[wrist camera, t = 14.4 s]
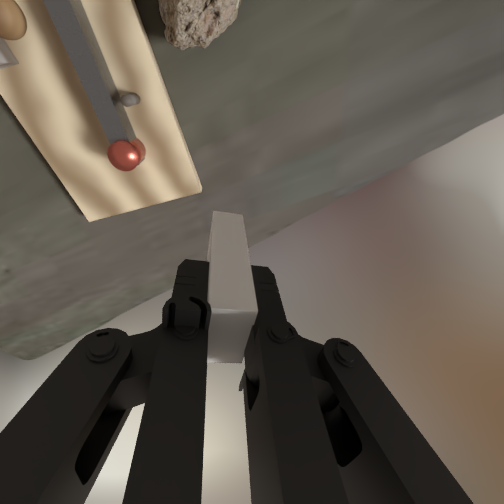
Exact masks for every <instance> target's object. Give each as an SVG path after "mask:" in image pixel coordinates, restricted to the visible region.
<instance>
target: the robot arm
mask: <svg viewBox="0 0 504 504" xmlns="http://www.w3.org/2000/svg"><path fill="white" fill-rule="evenodd" d="M162 313H163V314H162V324H160V325H159V326H158V327H157V328H155V329H153V330H151V331H148V332H145V333H141V334H136V335H132V336H128V335H127V333H126V332H124V331H122V330H119V329H114V328H113V329H112V328H106V329H101V330H96V331H95V332H92V333H90V334H88V335H86V336H85V337H84V338H83V339H82V340H80V341H79V342H78V343H77V344H76V346H75V347H74V348H73V349H72V350H71V351H70V352H69V354H68V355H67V356H66V357H65V358H64V360H63V361H62V362H61V363H60V364H59V365H58V367H57V368H56V369H55V370H54V371H53V372H52V373H51V375H50V376H49V377H48V378H47V379H46V380H45V382H44V383H43V384H42V385H41V386H40V387H39V389H38V390H37V391H36V392H35V393H34V394H33V396H32V397H31V398H30V399H29V400H28V401H27V403H26V404H25V405H24V406H23V407H22V408H21V410H20V411H19V412H18V413H17V414H16V415H15V417H14V418H13V419H12V420H11V421H10V422H9V424H8V425H7V426H6V427H5V429H4V430H3V431H2V432H1V433H0V504H84V503H85V500H86V498H87V497H88V495H89V493H90V491H91V489H92V487H93V485H94V483H95V481H96V479H97V477H98V475H99V473H100V471H101V469H102V467H103V465H104V463H105V461H106V459H107V457H108V455H109V453H110V451H111V449H112V447H113V445H114V443H115V441H116V439H117V437H118V435H119V433H120V431H121V429H122V427H123V425H124V423H125V421H126V419H127V417H128V416H129V413H130V411H131V410H132V408H133V407H135V406H137V405H140V404H143V403H145V406H144V411H143V415H142V419H141V424H140V428H139V433H138V437H137V441H136V446H135V451H134V455H133V459H132V463H131V468H130V473H129V477H128V481H127V485H126V490H125V494H124V499H123V503H122V504H201V494H202V470H203V447H204V423H205V400H206V377H207V362H214V363H242V360H243V357H245V370H244V373H243V376H242V379H241V382H240V385H239V391H242V389H244V404H245V418H246V430H247V431H246V432H247V445H248V460H249V474H250V486H251V487H250V488H251V502H252V504H473V502H472V501H471V500H470V498H469V497H468V496H467V494H466V493H465V492H464V490H463V489H462V488H461V486H460V485H459V484H458V482H457V481H456V480H455V478H454V477H453V476H452V474H451V473H450V471H449V470H448V469H447V467H446V466H445V465H444V463H443V462H442V461H441V459H440V458H439V457H438V455H437V454H436V453H435V451H434V450H433V449H432V447H431V446H430V445H429V443H428V442H427V441H426V439H425V438H424V437H423V435H422V434H421V433H420V431H419V430H418V428H417V427H416V426H415V424H414V423H413V422H412V420H411V419H410V418H409V416H407V414H406V412H405V411H404V410H403V408H402V407H401V406H400V404H399V403H398V402H397V400H396V399H395V398H394V396H393V395H392V394H391V392H390V391H389V390H388V388H387V387H386V386H385V384H384V383H383V382H382V380H381V379H380V377H379V376H378V375H377V374H376V372H375V371H374V370H373V368H372V367H371V365H370V364H369V363H368V361H367V360H366V359H365V358H364V356H363V355H362V353H361V352H360V351H359V350H358V349H357V348H356V347H355V346H354V345H353V344H351V343H350V342H348V341H346V340H343V339H340V338H332V339H329V340H327V341H326V343H325V344H324V345H322V344H319V343H316V342H314V341H311V340H308V339H305V338H303V337H301V336H300V335H298V333H297V331H296V329H295V328H294V327H293V326H292V325H291V324H290V323H289V322H287V320H286V316H285V312H284V309H283V305H282V301H281V298H280V294H279V290H278V287H277V285H276V279H275V276H274V274H273V273H272V272H271V270H270V269H269V268H268V267H262V266H253V265H250V258H249V252H248V246H247V240H246V233H245V227H244V221H243V215H240V214H233V213H226V212H219V211H213V217H212V225H211V232H210V239H209V247H208V254H207V261H198V260H188V259H185V260H184V261H183V262H182V263H181V264H180V265H179V266H178V270H177V275H176V279H175V285H174V288H173V293H172V297H171V298H170V299H169V300H168V301H166V303H165V305H164V307H163V312H162Z"/></svg>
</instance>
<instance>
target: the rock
mask: <svg viewBox="0 0 504 504" xmlns="http://www.w3.org/2000/svg"><path fill="white" fill-rule="evenodd" d="M158 2H159V11H160V14H161V18H162V20H163V22H164V23H165V25H166V29H165V31H164V33H165V38H166V40H167V41H168V42H169V43H170V44H172V45H173V46H174V47H178V48H179V49H180V50H184V49H186V48H188V47H190V48H193V47H195V46H197V47H202V48H206V47H208V46H209V44H210V43H211V41H212V40H214V39H215V38H217V37H219V34H221V33H223V32H224V31H225V30H226V28H227V27H228V26H229V25H231V24H232V23H233V22H234V21H235V19H236V18H237V15H238V8H239V6H240V3H241V0H158Z"/></svg>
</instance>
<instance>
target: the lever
mask: <svg viewBox="0 0 504 504" xmlns="http://www.w3.org/2000/svg"><path fill="white" fill-rule="evenodd" d="M43 2H44V4H45V6H46V8H47V11H48V13H49V15H50V17H51V19H52V21H53V23H54V26H55V28H56V30H57V32H58V34H59V36H60V38H61V40H62V43H63V45H64V47H65V49H66V51H67V53H68V55H69V58H70V60H71V62H72V64H73V66H74V68H75V70H76V72H77V75H78V77H79V79H80V81H81V83H82V85H83V87H84V89H85V92H86V94H87V96H88V98H89V100H90V102H91V104H92V107H93V109H94V111H95V113H96V115H97V117H98V119H99V121H100V124H101V126H102V128H103V130H104V132H105V134H106V136H107V139H108V141H109V143H110V146H109V148H108V150H107V156H108V159H109V161H110V163H111V164H112V165H113V166H114V167H115V168H117V169H118V170H121V171H131V170H133V169H134V168H136V166H137V165H140V163H141V162H142V161H143V160H144V159H145V155H146V149H145V146H144V144H143V143H142V142H141V141H140V140H139V139H138V138H136V135H135V133H134V130H133V128H132V125H131V123H130V120H129V118H128V115H127V113H126V111H125V108H124V106H123V105H122V103H121V100H120V96H119V93H118V91H117V88H116V86H115V83H114V81H113V78H112V76H111V74H110V71H109V69H108V66H107V64H106V61H105V59H104V56H103V54H102V51H101V49H100V46H99V44H98V42H97V39H96V37H95V34H94V32H93V29H92V27H91V24H90V22H89V19H88V17H87V14H86V12H85V9H84V7H83V5H82V2H81V0H43Z"/></svg>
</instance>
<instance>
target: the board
mask: <svg viewBox="0 0 504 504" xmlns="http://www.w3.org/2000/svg"><path fill="white" fill-rule="evenodd" d="M81 2H82V5H83V7H84V9H85V12H86V14H87V17H88V19H89V22H90V24H91V27H92V29H93V32H94V34H95V37H96V39H97V42H98V44H99V46H100V49H101V51H102V54H103V56H104V59H105V61H106V64H107V66H108V69H109V71H110V74H111V76H112V78H113V81H114V83H115V86H116V88H117V91H118V93H119V96H120V100H121V103H122V105H123V106H124V108H125V111H126V113H127V115H128V118H129V120H130V123H131V125H132V128H133V130H134V133H135V135H136V138H138V139H139V140H140V141H141V142H142V143H143V144H144V146H145V149H146V155H145V159H144V160H143V161H142V162H141V163H140V165H137V166H136V168H134V169H133V170H131V171H121V170H118V169H117V168H115V167H114V166H113V165H112V164H111V163H110V161H109V159H108V156H107V150H108V148H109V146H110V143H109V141H108V139H107V136H106V134H105V132H104V130H103V128H102V126H101V124H100V121H99V119H98V117H97V115H96V113H95V111H94V109H93V107H92V104H91V102H90V100H89V98H88V96H87V94H86V92H85V89H84V87H83V85H82V83H81V81H80V79H79V77H78V75H77V72H76V70H75V68H74V66H73V64H72V62H71V60H70V58H69V55H68V53H67V51H66V49H65V47H64V45H63V43H62V40H61V38H60V36H59V34H58V32H57V30H56V28H55V26H54V23H53V21H52V19H51V17H50V15H49V13H48V11H47V8H46V6H45V4H44V2H43V0H0V94H1V96H2V97H3V99H4V100H5V101H6V103H7V104H8V106H9V107H10V109H11V110H12V112H13V113H14V114H15V116H16V117H17V119H18V120H19V122H20V123H21V124H22V126H23V127H24V129H25V130H26V132H27V133H28V135H29V136H30V137H31V139H32V140H33V142H34V143H35V145H36V146H37V147H38V149H39V150H40V152H41V153H42V155H43V156H44V158H45V159H46V160H47V162H48V163H49V165H50V166H51V168H52V169H53V170H54V172H55V173H56V175H57V176H58V178H59V179H60V181H61V182H62V183H63V185H64V186H65V188H66V189H67V191H68V192H69V194H70V195H71V196H72V198H73V199H74V201H75V202H76V204H77V205H78V206H79V208H80V209H81V211H82V212H83V214H84V215H85V217H86V218H87V219H88V221H89V222H90V221H94V220H98V219H102V218H106V217H109V216H113V215H117V214H121V213H124V212H128V211H132V210H136V209H139V208H143V207H147V206H151V205H155V204H158V203H162V202H166V201H170V200H173V199H177V198H181V197H185V196H189V195H192V194H196V193H200V192H201V191H202V186H201V183H200V181H199V178H198V175H197V172H196V170H195V167H194V164H193V161H192V158H191V156H190V153H189V150H188V147H187V145H186V142H185V139H184V136H183V134H182V131H181V128H180V125H179V123H178V120H177V117H176V114H175V112H174V109H173V106H172V103H171V101H170V98H169V95H168V92H167V90H166V87H165V84H164V81H163V79H162V76H161V73H160V70H159V68H158V65H157V62H156V59H155V56H154V54H153V51H152V48H151V45H150V43H149V40H148V37H147V34H146V32H145V29H144V26H143V23H142V21H141V18H140V15H139V12H138V10H137V7H136V4H135V1H134V0H81Z"/></svg>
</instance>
